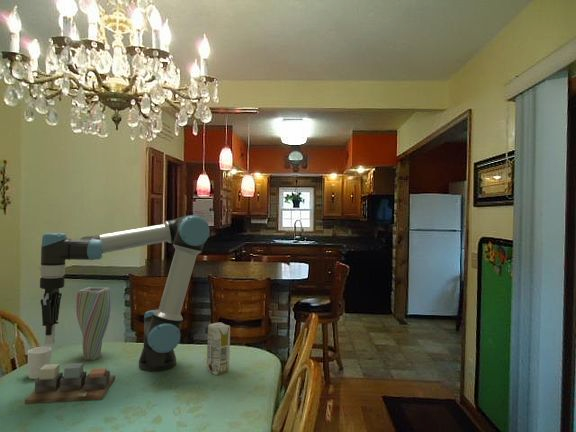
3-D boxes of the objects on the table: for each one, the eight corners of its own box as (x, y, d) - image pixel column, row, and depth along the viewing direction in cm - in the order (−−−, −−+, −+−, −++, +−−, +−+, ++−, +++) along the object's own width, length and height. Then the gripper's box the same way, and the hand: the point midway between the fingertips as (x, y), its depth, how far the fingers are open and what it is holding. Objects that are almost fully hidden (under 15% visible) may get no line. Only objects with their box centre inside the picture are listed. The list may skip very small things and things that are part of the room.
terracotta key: (106, 381, 148) (106, 368, 148) (102, 387, 143) (103, 373, 143) (92, 382, 147) (92, 368, 147) (88, 388, 142) (88, 373, 142)
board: (115, 378, 155) (115, 364, 155) (102, 399, 137) (103, 384, 137) (46, 381, 150) (47, 367, 150) (24, 403, 133) (25, 387, 133)
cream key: (59, 377, 145) (59, 364, 145) (54, 383, 140) (54, 369, 140) (44, 378, 144) (45, 364, 144) (38, 384, 139) (39, 369, 139)
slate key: (83, 376, 146) (83, 363, 146) (78, 382, 142) (79, 368, 142) (68, 377, 146) (69, 363, 146) (63, 382, 141) (64, 368, 141)
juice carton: (215, 376, 159) (216, 328, 159) (204, 370, 166) (205, 323, 166) (231, 372, 164) (232, 325, 164) (220, 366, 171) (221, 321, 171)
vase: (100, 363, 170) (102, 292, 170) (68, 362, 170) (70, 291, 170) (114, 352, 183) (116, 286, 183) (84, 351, 183) (86, 286, 184)
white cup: (39, 380, 151) (40, 354, 151) (21, 378, 152) (22, 352, 152) (55, 373, 158) (56, 347, 158) (38, 371, 160) (39, 345, 160)
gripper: (48, 273, 148) (45, 338, 148) (32, 279, 135) (29, 349, 135) (70, 274, 149) (67, 337, 149) (57, 279, 137) (54, 349, 136)
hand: (49, 343), depth 142 cm, fingers closed
